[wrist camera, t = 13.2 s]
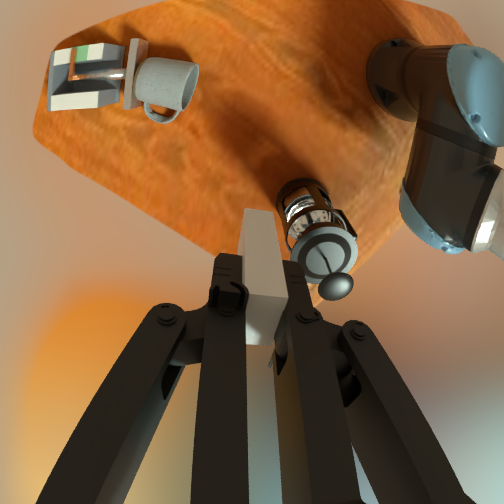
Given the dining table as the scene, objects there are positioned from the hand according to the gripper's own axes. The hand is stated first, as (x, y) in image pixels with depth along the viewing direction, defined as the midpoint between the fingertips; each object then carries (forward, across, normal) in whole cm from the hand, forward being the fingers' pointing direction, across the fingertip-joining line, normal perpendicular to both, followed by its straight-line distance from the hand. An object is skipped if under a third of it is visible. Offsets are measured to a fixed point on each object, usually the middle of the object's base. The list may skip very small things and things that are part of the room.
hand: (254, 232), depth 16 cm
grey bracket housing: (+32, +27, -8) cm, 43 cm away
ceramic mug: (+33, +13, -5) cm, 36 cm away
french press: (+33, -12, +11) cm, 36 cm away
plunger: (+32, +24, -8) cm, 40 cm away
